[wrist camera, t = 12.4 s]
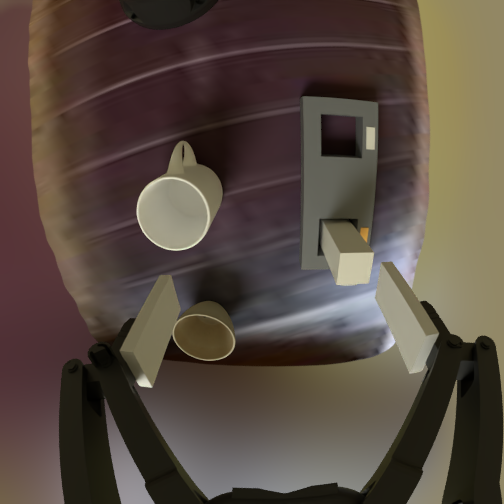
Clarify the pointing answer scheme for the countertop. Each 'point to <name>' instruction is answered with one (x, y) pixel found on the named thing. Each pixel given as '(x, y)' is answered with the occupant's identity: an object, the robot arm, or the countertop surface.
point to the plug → (345, 252)
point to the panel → (336, 174)
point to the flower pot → (205, 331)
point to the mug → (180, 202)
